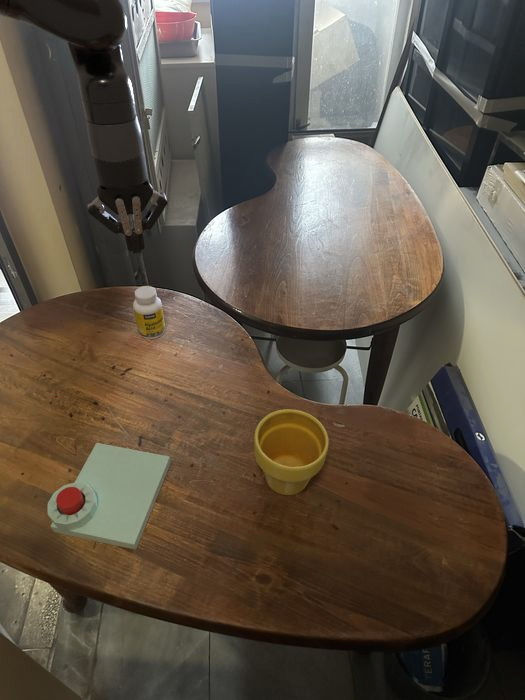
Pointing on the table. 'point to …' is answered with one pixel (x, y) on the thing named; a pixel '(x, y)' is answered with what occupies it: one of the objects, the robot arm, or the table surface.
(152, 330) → the supplement bottle
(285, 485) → the flower pot
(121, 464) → the pale green flat piece
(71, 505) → the button
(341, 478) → the table surface
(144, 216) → the robot arm
